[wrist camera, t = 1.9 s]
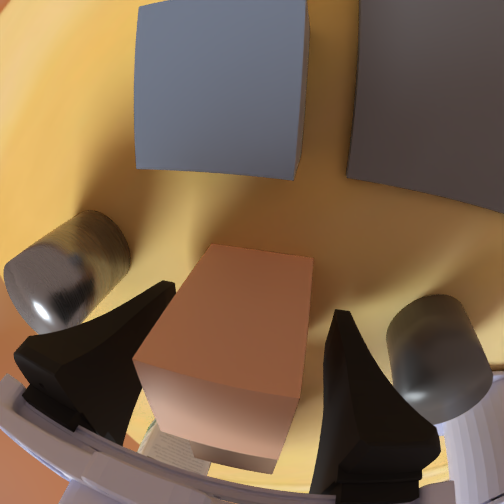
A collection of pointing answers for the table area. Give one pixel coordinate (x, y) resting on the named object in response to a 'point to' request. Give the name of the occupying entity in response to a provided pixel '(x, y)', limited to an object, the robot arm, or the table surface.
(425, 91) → the charcoal mat
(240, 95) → the slate blue block
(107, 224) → the dark steel can
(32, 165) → the table surface
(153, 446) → the syrup box
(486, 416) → the robot arm
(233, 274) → the terracotta block
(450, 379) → the charcoal cylinder
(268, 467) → the walnut block
